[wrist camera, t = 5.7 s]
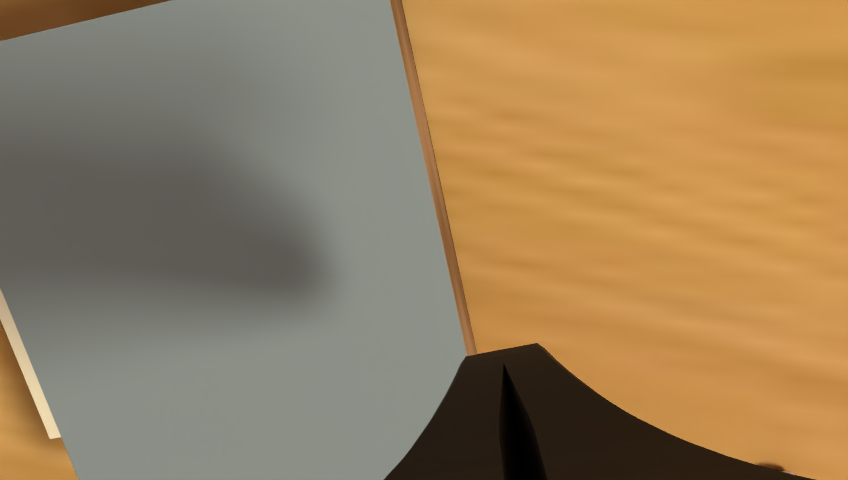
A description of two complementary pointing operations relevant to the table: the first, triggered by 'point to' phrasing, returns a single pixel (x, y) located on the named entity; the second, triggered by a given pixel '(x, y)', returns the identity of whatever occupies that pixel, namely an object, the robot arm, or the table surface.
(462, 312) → the box
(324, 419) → the lid
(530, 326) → the table surface
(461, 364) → the robot arm
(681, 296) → the table surface
